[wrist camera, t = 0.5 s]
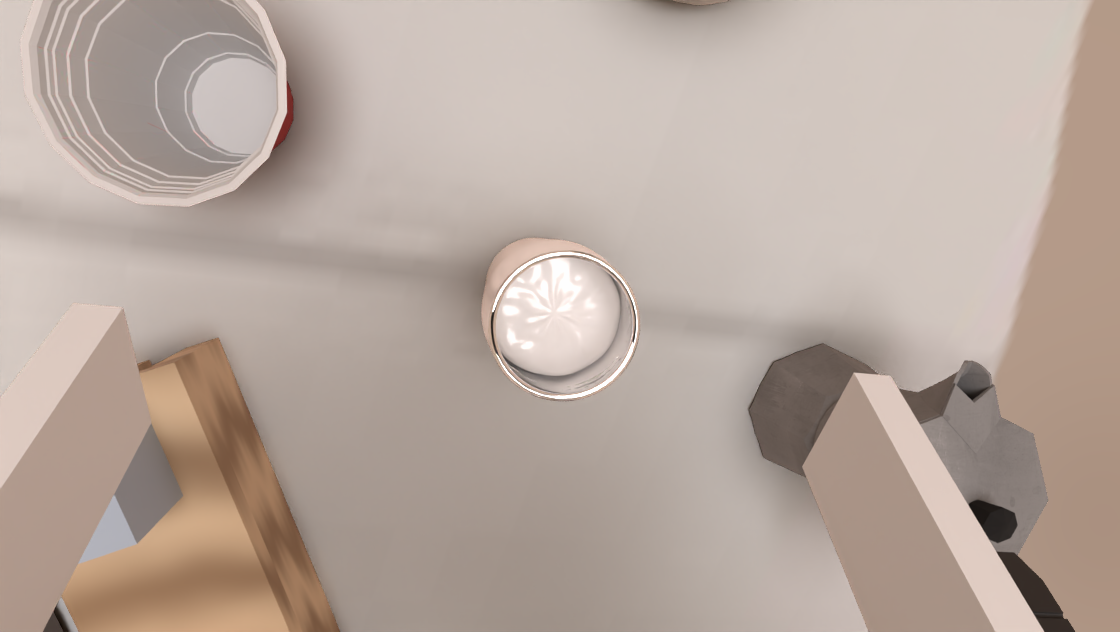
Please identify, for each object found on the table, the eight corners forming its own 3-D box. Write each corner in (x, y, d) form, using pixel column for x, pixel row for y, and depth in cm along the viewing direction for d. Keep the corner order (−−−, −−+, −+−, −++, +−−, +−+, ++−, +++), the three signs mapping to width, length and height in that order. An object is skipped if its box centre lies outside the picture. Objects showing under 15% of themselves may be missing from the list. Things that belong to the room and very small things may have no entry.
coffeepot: (756, 310, 48) (924, 376, 30) (890, 316, 49) (1127, 383, 32) (733, 532, 50) (877, 714, 33) (862, 533, 52) (1068, 707, 34)
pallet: (358, 672, 49) (340, 750, 42) (211, 725, 48) (168, 813, 41) (219, 336, 44) (174, 362, 37) (54, 390, 44) (-23, 426, 37)
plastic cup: (100, 127, 41) (-45, 100, 30) (209, -31, 41) (105, -124, 29) (268, 242, 44) (194, 258, 32) (374, 93, 43) (339, 53, 31)
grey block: (183, 495, 39) (136, 543, 33) (79, 530, 38) (15, 585, 33) (141, 399, 38) (86, 433, 32) (33, 435, 37) (-40, 475, 32)
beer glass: (566, 355, 47) (611, 427, 32) (462, 319, 46) (459, 376, 31) (605, 252, 46) (669, 278, 31) (500, 213, 45) (516, 221, 30)
